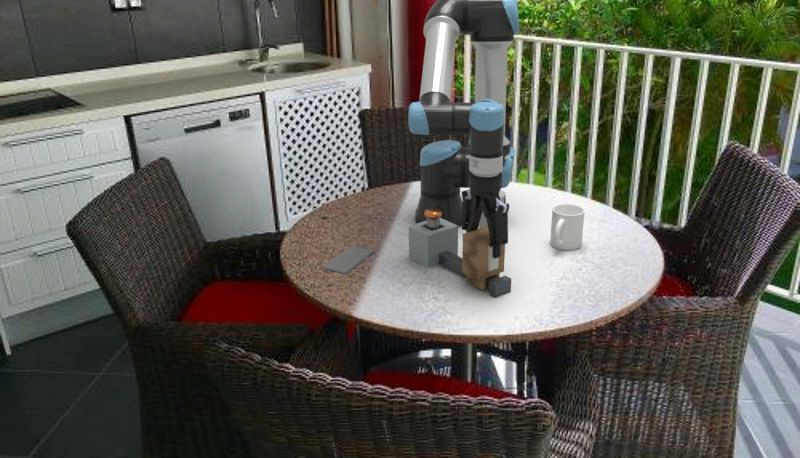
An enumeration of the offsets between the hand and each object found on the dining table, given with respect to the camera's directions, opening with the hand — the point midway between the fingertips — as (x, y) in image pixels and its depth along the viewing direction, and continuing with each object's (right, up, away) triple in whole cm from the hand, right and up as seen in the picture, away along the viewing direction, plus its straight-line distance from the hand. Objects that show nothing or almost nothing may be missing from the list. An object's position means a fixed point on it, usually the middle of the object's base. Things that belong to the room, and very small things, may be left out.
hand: (483, 263), depth 163 cm
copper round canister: (-11, +6, +14) cm, 19 cm away
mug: (+24, +3, +20) cm, 32 cm away
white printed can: (+5, +4, +22) cm, 23 cm away
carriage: (0, -5, +2) cm, 5 cm away
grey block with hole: (-11, +1, +16) cm, 20 cm away
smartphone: (-33, 0, +17) cm, 37 cm away
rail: (-2, -4, +5) cm, 7 cm away
